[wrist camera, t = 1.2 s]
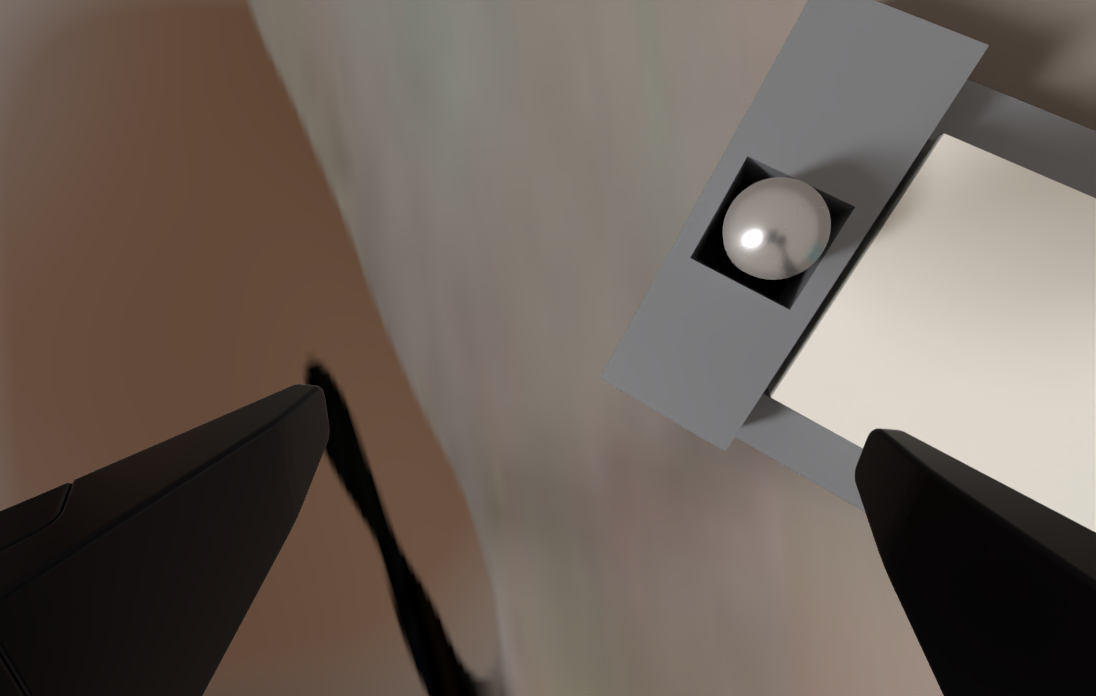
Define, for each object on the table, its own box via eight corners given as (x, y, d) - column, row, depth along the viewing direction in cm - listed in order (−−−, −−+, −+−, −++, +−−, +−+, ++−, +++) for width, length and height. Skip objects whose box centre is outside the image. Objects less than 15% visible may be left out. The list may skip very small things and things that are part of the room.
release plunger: (709, 254, 21) (704, 251, 16) (748, 185, 21) (756, 159, 16) (777, 289, 21) (794, 297, 16) (819, 219, 20) (853, 205, 15)
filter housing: (623, 356, 25) (599, 378, 20) (799, 42, 21) (819, -21, 17) (1114, 637, 21) (1226, 745, 16) (1438, 309, 17) (1705, 326, 13)
